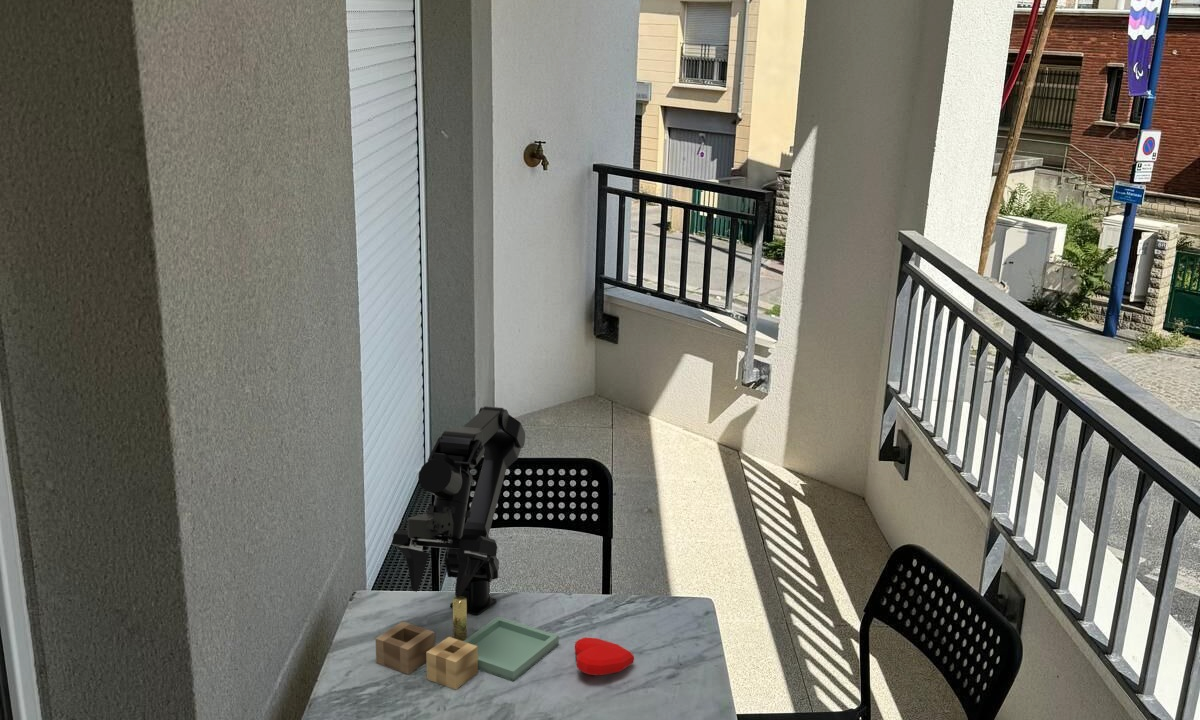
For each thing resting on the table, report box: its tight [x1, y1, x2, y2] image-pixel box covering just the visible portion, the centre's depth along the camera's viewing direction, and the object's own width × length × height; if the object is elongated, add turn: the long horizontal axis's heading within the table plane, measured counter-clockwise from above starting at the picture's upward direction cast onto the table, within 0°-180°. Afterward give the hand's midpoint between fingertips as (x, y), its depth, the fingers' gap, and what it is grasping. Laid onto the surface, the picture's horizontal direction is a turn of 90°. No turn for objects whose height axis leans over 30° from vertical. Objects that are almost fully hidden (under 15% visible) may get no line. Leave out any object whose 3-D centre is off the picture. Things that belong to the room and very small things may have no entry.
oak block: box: [426, 636, 479, 690], centre depth 182 cm, size 6×6×5 cm
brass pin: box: [452, 596, 468, 641], centre depth 193 cm, size 2×2×8 cm
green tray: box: [464, 616, 560, 682], centre depth 190 cm, size 14×13×2 cm
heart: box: [574, 636, 635, 676], centre depth 186 cm, size 12×4×10 cm
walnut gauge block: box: [375, 620, 436, 675], centre depth 186 cm, size 7×7×5 cm
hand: (435, 593), depth 186 cm, fingers open, 9 cm apart
